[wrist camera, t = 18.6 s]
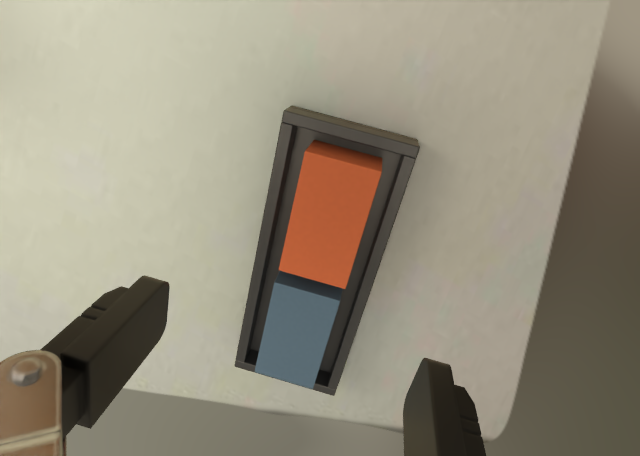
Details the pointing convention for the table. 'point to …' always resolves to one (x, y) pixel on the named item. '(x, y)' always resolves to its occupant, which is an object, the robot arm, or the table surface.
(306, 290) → the seated pad
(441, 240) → the table surface
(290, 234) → the orange block
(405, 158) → the frame
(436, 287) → the table surface
